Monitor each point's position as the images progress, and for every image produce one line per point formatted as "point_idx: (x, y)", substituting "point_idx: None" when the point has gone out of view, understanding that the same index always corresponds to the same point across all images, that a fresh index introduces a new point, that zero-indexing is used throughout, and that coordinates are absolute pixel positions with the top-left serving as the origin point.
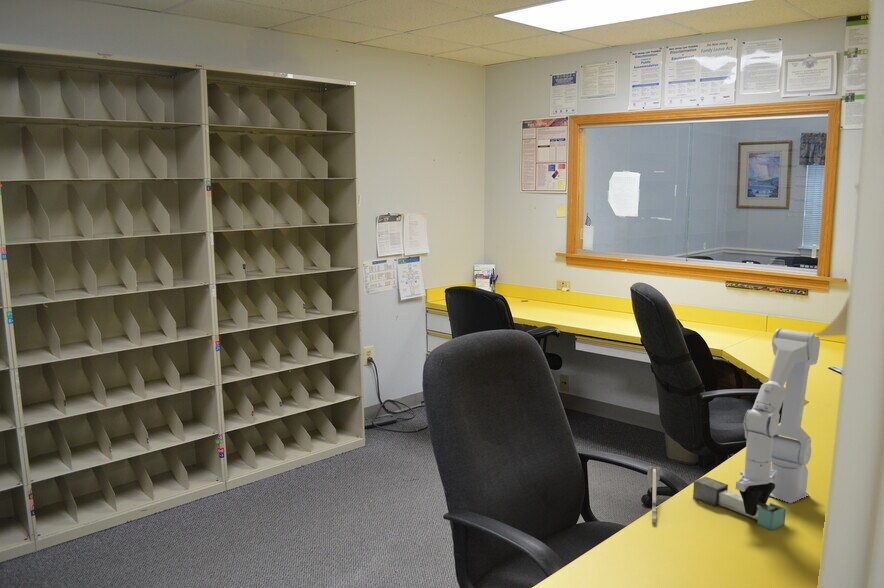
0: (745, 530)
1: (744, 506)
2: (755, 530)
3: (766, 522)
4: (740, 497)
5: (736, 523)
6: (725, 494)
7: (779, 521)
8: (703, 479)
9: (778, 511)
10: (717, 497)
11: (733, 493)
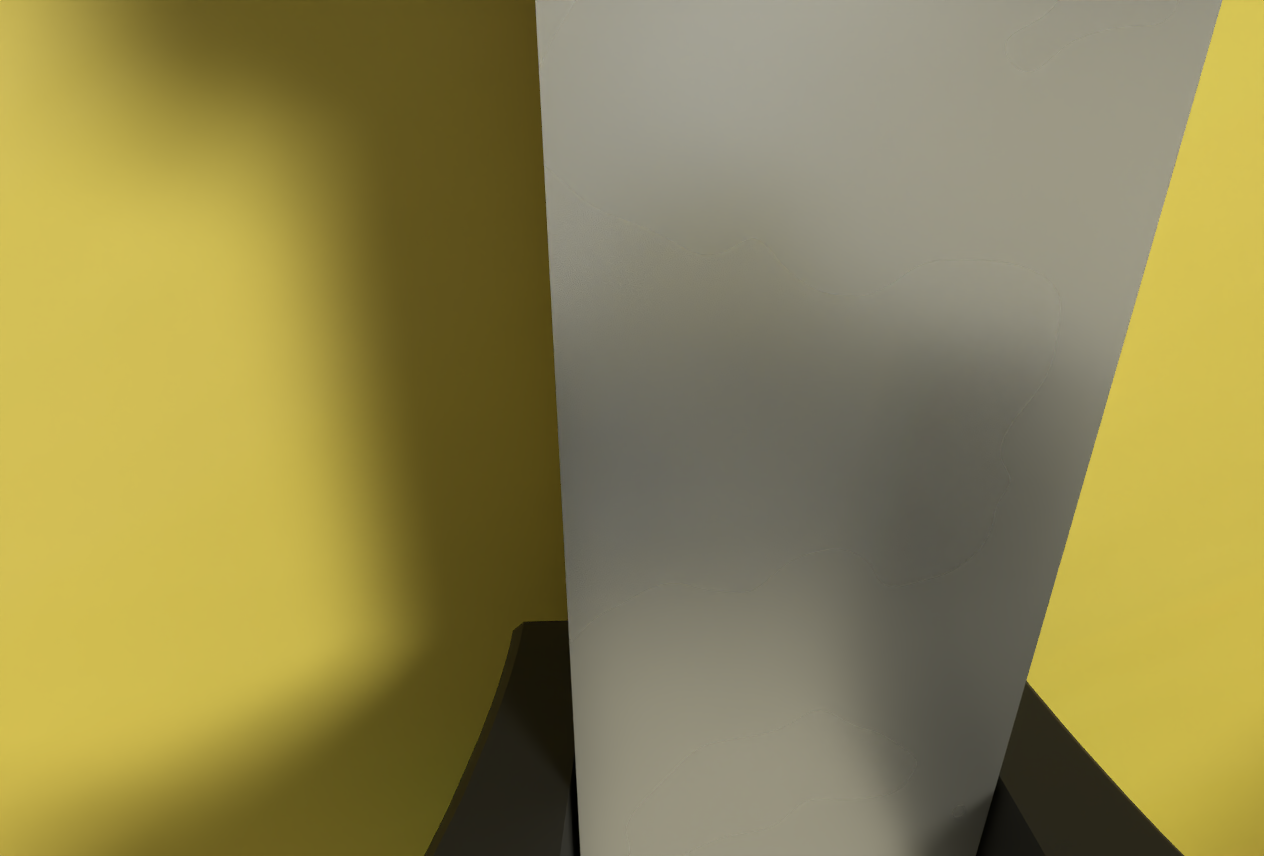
0: (82, 763)
1: (480, 742)
2: (262, 823)
3: None
4: (814, 555)
5: (141, 558)
6: (561, 58)
7: None
8: None
9: None
10: None
11: (1007, 197)
